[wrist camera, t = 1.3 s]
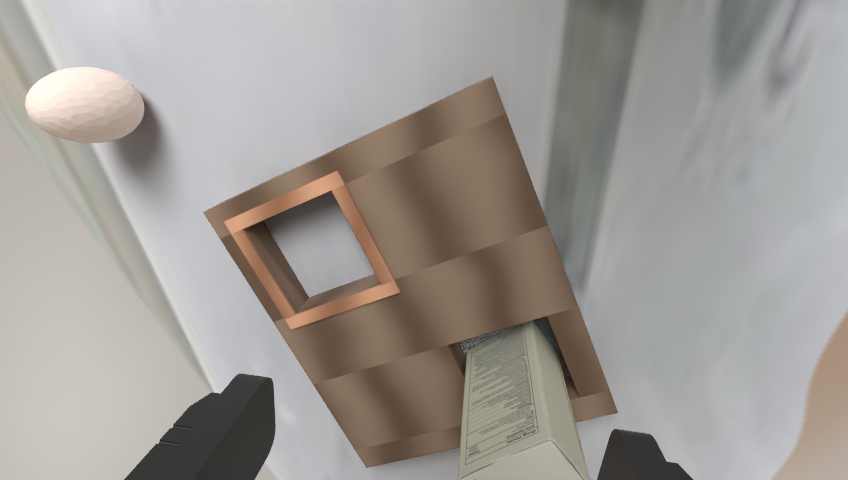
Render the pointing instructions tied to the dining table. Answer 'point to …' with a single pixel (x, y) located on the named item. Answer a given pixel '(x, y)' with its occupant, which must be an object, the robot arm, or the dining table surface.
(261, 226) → the socket board
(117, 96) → the egg
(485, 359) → the skincare box
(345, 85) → the dining table surface
